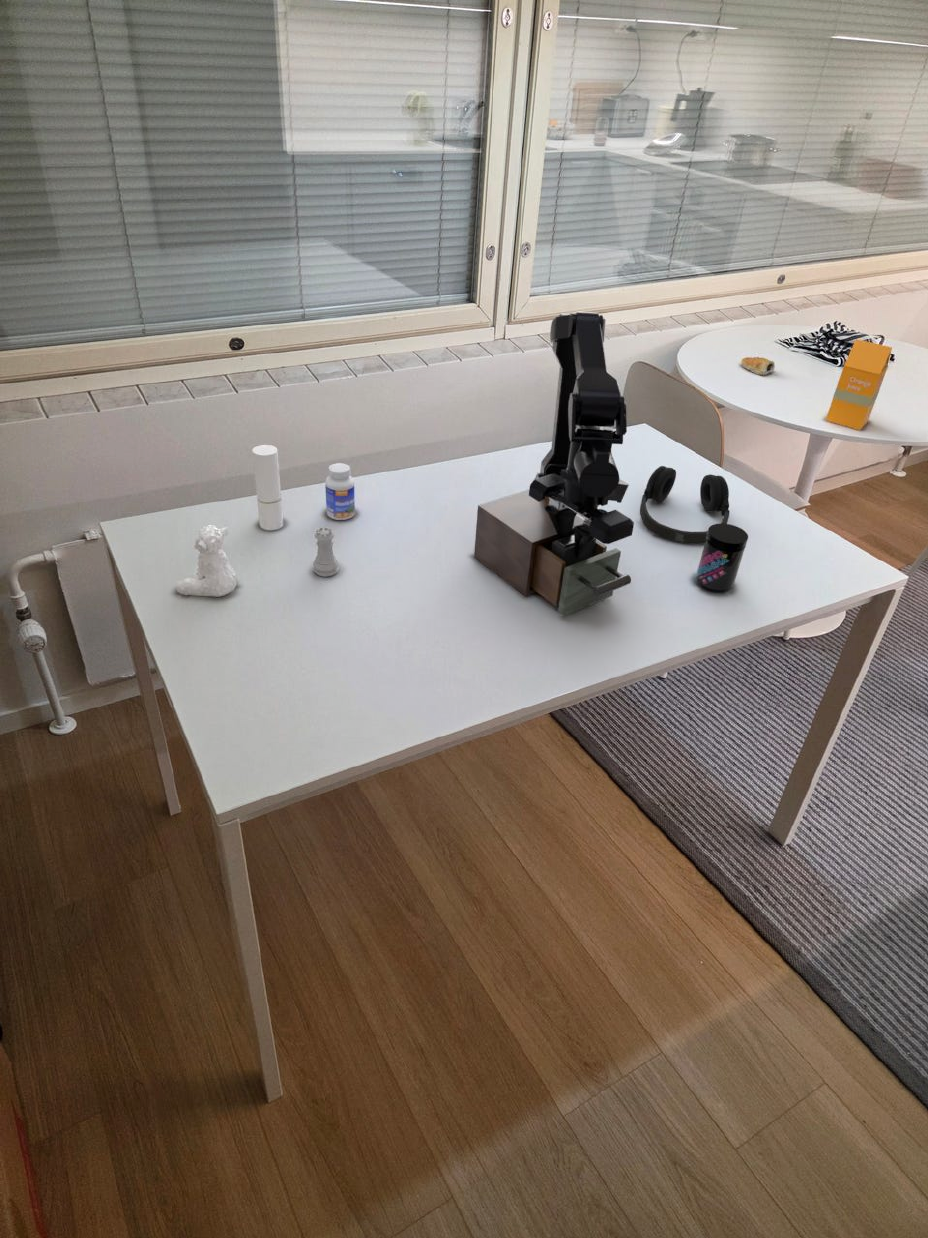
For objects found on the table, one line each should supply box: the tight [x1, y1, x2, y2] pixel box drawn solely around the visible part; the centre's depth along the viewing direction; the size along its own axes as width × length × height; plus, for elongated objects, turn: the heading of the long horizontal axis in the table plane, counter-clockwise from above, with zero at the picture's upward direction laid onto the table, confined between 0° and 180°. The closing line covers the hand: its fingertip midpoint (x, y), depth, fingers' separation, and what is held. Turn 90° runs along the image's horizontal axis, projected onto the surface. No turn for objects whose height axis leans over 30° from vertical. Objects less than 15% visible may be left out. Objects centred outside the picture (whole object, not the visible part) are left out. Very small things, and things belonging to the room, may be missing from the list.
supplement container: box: [695, 522, 749, 594], centre depth 144 cm, size 7×7×10 cm
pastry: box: [740, 356, 776, 376], centre depth 241 cm, size 9×7×4 cm
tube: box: [251, 444, 284, 531], centre depth 150 cm, size 4×4×15 cm
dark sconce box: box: [551, 534, 597, 567], centre depth 136 cm, size 8×3×4 cm, turn 127°
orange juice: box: [825, 338, 893, 431], centre depth 208 cm, size 8×9×20 cm
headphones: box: [639, 465, 730, 545], centre depth 164 cm, size 17×7×20 cm
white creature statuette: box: [175, 524, 238, 598], centre depth 134 cm, size 10×9×12 cm
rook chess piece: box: [312, 526, 340, 578], centre depth 141 cm, size 4×4×8 cm
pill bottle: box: [324, 462, 356, 521], centre depth 157 cm, size 5×5×10 cm
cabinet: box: [473, 489, 585, 597], centre depth 145 cm, size 15×13×11 cm
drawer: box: [530, 532, 632, 617], centre depth 138 cm, size 18×11×9 cm, turn 36°
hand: (572, 552), depth 137 cm, fingers closed on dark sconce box, 3 cm apart
